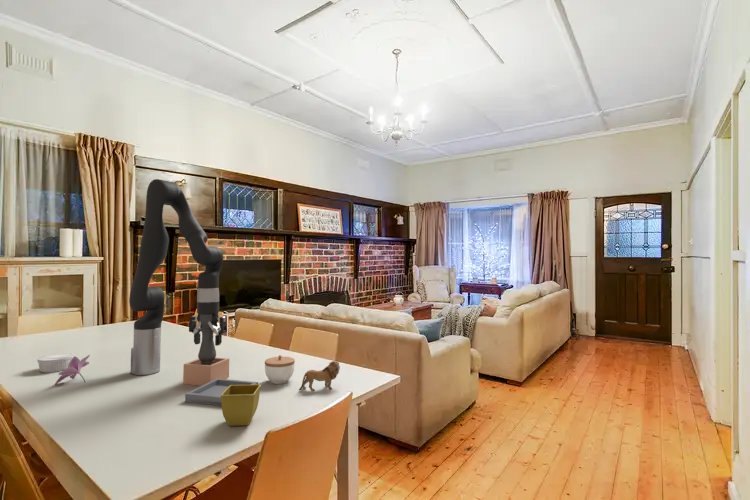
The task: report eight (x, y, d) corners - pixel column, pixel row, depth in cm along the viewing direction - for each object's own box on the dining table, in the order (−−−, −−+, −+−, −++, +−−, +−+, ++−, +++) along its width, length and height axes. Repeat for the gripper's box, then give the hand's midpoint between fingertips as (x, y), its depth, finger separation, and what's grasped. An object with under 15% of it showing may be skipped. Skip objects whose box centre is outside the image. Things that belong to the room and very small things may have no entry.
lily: (95, 377, 146) (82, 355, 146) (106, 370, 139) (93, 347, 139) (58, 396, 136) (45, 373, 136) (68, 390, 129) (54, 365, 129)
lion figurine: (336, 383, 139) (336, 358, 139) (342, 388, 134) (342, 362, 134) (296, 389, 132) (297, 363, 133) (300, 394, 128) (301, 367, 128)
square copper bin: (183, 383, 137) (183, 364, 137) (203, 374, 147) (203, 356, 147) (210, 386, 134) (210, 366, 134) (228, 377, 145) (229, 358, 145)
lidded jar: (300, 379, 144) (300, 354, 144) (281, 387, 134) (282, 360, 134) (277, 375, 148) (277, 350, 148) (257, 383, 138) (258, 357, 139)
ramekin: (41, 375, 144) (41, 361, 145) (33, 370, 151) (33, 356, 151) (77, 369, 153) (77, 355, 153) (68, 364, 160) (69, 351, 160)
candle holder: (208, 383, 137) (210, 313, 138) (193, 382, 138) (195, 312, 139) (219, 378, 143) (220, 311, 144) (204, 377, 144) (206, 310, 145)
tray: (184, 401, 120) (185, 393, 120) (216, 385, 135) (216, 378, 135) (230, 406, 116) (230, 398, 116) (258, 389, 132) (258, 382, 132)
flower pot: (229, 416, 109) (229, 384, 110) (260, 415, 110) (261, 383, 110) (219, 429, 101) (220, 395, 101) (253, 429, 101) (254, 394, 102)
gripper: (184, 300, 139) (183, 345, 139) (219, 301, 136) (218, 347, 136) (198, 298, 147) (197, 341, 146) (231, 299, 143) (230, 343, 143)
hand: (207, 344), depth 141 cm, fingers open, 8 cm apart
